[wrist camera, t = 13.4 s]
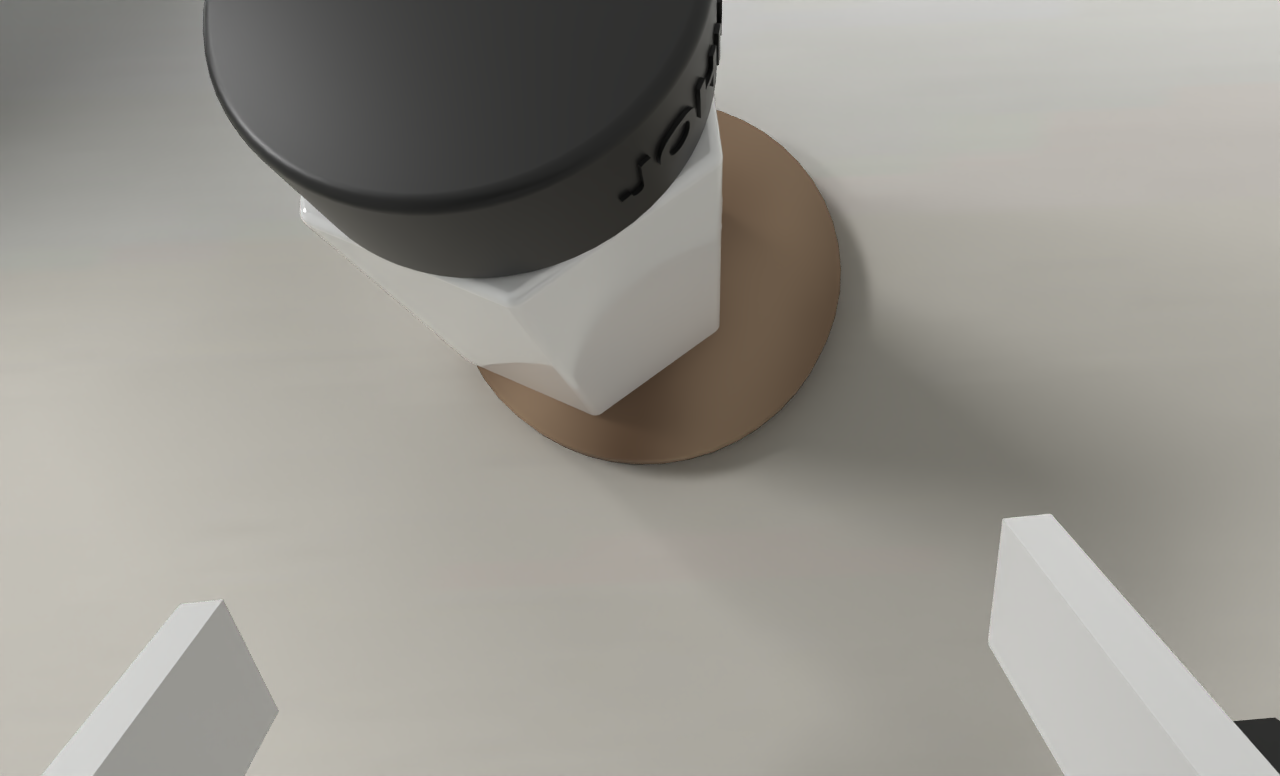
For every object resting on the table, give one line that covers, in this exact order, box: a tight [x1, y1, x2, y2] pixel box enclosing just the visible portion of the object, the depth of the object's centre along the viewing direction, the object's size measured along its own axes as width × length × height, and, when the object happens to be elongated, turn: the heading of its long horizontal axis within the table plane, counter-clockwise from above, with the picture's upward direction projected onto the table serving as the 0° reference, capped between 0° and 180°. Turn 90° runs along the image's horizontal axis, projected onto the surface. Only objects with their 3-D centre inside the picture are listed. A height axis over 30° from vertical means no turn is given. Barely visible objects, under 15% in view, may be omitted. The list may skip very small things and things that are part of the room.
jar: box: [203, 0, 723, 415], centre depth 17 cm, size 9×8×12 cm
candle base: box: [477, 110, 841, 464], centre depth 23 cm, size 12×12×1 cm
